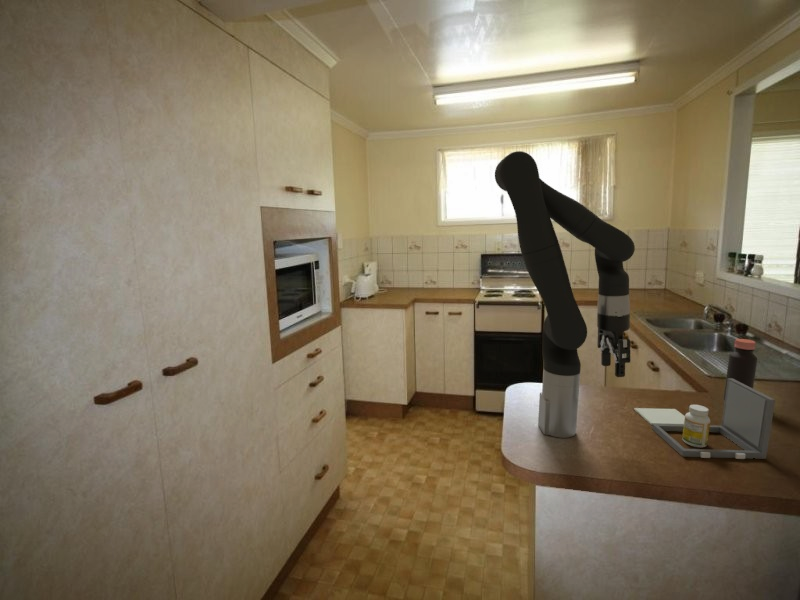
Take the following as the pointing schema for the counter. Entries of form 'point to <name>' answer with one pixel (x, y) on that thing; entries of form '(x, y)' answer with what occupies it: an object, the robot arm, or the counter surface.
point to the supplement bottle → (696, 426)
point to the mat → (661, 416)
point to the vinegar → (742, 363)
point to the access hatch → (734, 424)
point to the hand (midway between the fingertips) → (612, 370)
